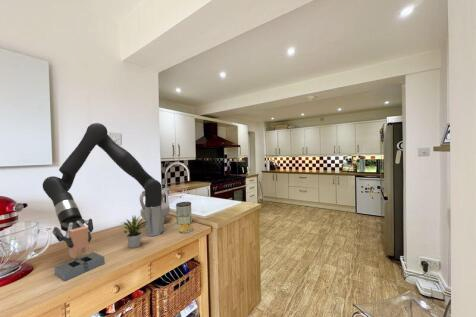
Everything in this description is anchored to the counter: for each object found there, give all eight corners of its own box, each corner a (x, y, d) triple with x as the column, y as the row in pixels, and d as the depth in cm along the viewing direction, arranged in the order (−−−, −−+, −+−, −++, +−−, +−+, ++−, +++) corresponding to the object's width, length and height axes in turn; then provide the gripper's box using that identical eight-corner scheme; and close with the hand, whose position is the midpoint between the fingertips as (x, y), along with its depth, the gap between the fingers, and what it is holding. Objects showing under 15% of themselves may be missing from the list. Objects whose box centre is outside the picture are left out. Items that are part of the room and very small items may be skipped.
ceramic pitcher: (156, 230, 129) (158, 192, 128) (130, 227, 132) (132, 190, 132) (174, 220, 150) (175, 187, 149) (151, 217, 154) (152, 185, 153)
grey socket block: (93, 258, 93) (93, 251, 93) (104, 263, 88) (104, 256, 88) (54, 274, 81) (54, 266, 81) (64, 281, 76) (64, 273, 76)
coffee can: (174, 223, 139) (173, 203, 139) (188, 219, 146) (187, 200, 146) (180, 226, 131) (179, 205, 131) (194, 223, 138) (193, 203, 138)
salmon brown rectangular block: (84, 250, 87) (84, 226, 87) (88, 252, 85) (88, 227, 85) (69, 256, 82) (68, 230, 82) (73, 258, 81) (72, 231, 81)
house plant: (133, 255, 95) (132, 221, 94) (111, 251, 99) (110, 219, 99) (154, 242, 108) (153, 212, 108) (134, 240, 112) (132, 211, 112)
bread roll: (185, 227, 130) (185, 221, 130) (195, 230, 125) (195, 223, 125) (175, 231, 123) (175, 225, 123) (185, 234, 118) (185, 228, 118)
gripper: (49, 211, 81) (61, 246, 75) (89, 203, 94) (102, 233, 88) (44, 222, 84) (56, 256, 78) (84, 213, 97) (97, 242, 91)
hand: (81, 244), depth 83 cm, fingers closed on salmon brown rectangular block, 5 cm apart
